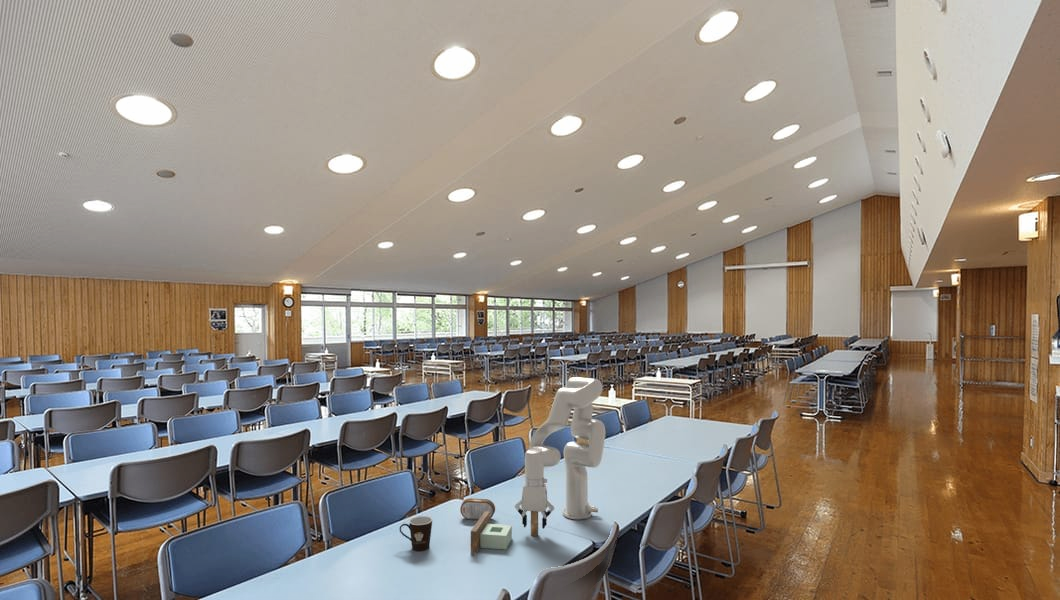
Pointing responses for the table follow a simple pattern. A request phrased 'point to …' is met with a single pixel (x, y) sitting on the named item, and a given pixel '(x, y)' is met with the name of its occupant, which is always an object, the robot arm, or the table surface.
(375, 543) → the table surface
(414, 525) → the coffee mug
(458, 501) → the table surface
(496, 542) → the block
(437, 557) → the table surface
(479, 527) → the wall
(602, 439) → the robot arm
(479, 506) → the tin
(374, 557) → the table surface
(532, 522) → the dowel
